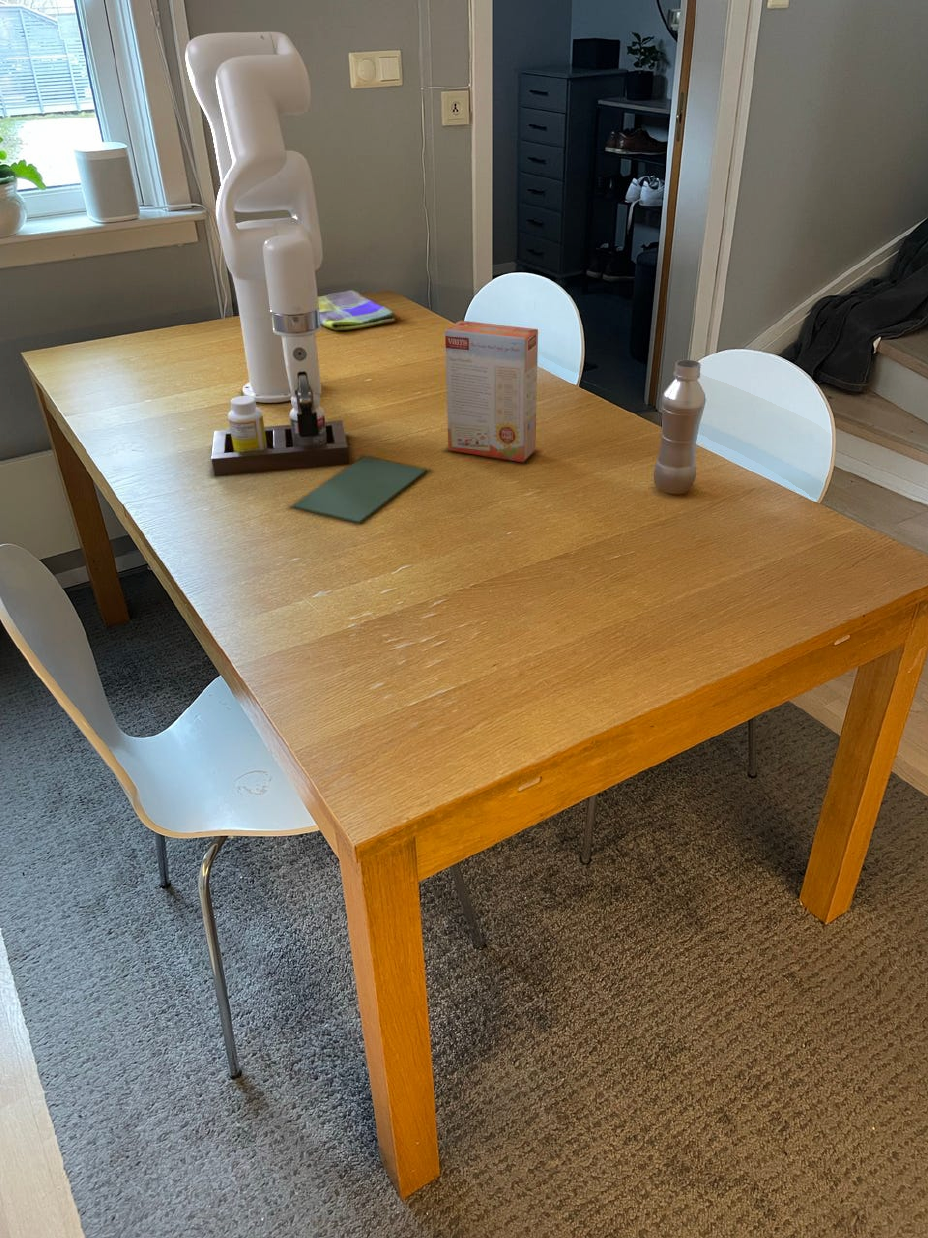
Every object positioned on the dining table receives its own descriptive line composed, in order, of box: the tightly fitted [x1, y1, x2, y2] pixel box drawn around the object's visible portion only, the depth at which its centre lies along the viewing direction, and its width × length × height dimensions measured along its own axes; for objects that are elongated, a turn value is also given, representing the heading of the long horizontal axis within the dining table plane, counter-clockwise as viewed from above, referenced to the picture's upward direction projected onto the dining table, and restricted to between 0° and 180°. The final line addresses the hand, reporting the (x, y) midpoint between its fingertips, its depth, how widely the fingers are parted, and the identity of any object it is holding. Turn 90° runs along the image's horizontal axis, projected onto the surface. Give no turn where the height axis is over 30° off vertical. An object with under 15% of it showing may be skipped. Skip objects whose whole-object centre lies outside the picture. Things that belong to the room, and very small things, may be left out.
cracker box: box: [444, 320, 539, 463], centre depth 152 cm, size 14×6×21 cm, turn 65°
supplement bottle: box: [227, 395, 268, 452], centre depth 154 cm, size 6×6×10 cm
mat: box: [293, 456, 427, 524], centre depth 146 cm, size 20×12×1 cm, turn 152°
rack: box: [211, 419, 350, 477], centre depth 157 cm, size 12×22×3 cm, turn 100°
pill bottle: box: [289, 392, 328, 447], centre depth 156 cm, size 6×6×10 cm
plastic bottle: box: [653, 359, 707, 495], centre depth 139 cm, size 6×7×20 cm
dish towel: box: [318, 289, 396, 331], centre depth 225 cm, size 18×24×3 cm
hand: (308, 427), depth 156 cm, fingers closed on pill bottle, 5 cm apart
